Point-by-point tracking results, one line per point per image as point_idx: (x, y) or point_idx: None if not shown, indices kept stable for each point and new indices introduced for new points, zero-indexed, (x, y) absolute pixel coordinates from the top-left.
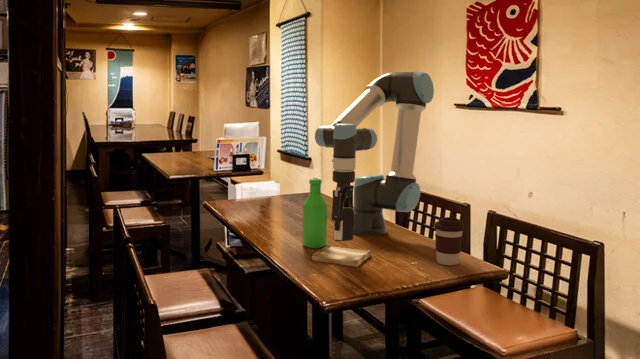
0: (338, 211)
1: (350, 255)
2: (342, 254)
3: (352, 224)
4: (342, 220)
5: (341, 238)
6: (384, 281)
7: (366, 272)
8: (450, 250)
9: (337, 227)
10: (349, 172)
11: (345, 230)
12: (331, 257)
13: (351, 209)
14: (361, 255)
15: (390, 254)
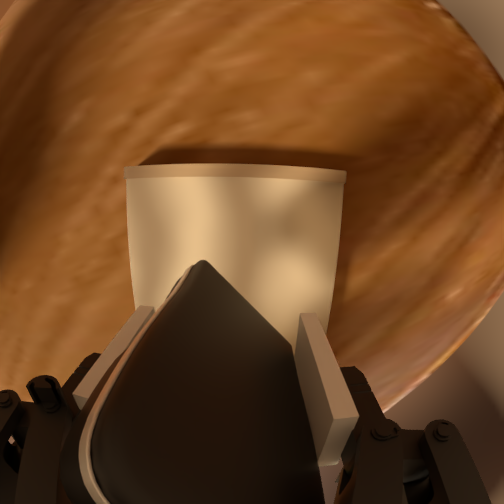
0: (483, 489)
1: (241, 239)
2: (242, 281)
3: (184, 320)
4: (274, 429)
5: (317, 319)
6: (436, 53)
7: (388, 116)
8: None
9: (366, 392)
10: None
11: (246, 340)
12: (311, 310)
13: (147, 498)
14: (215, 184)
15: (87, 100)
